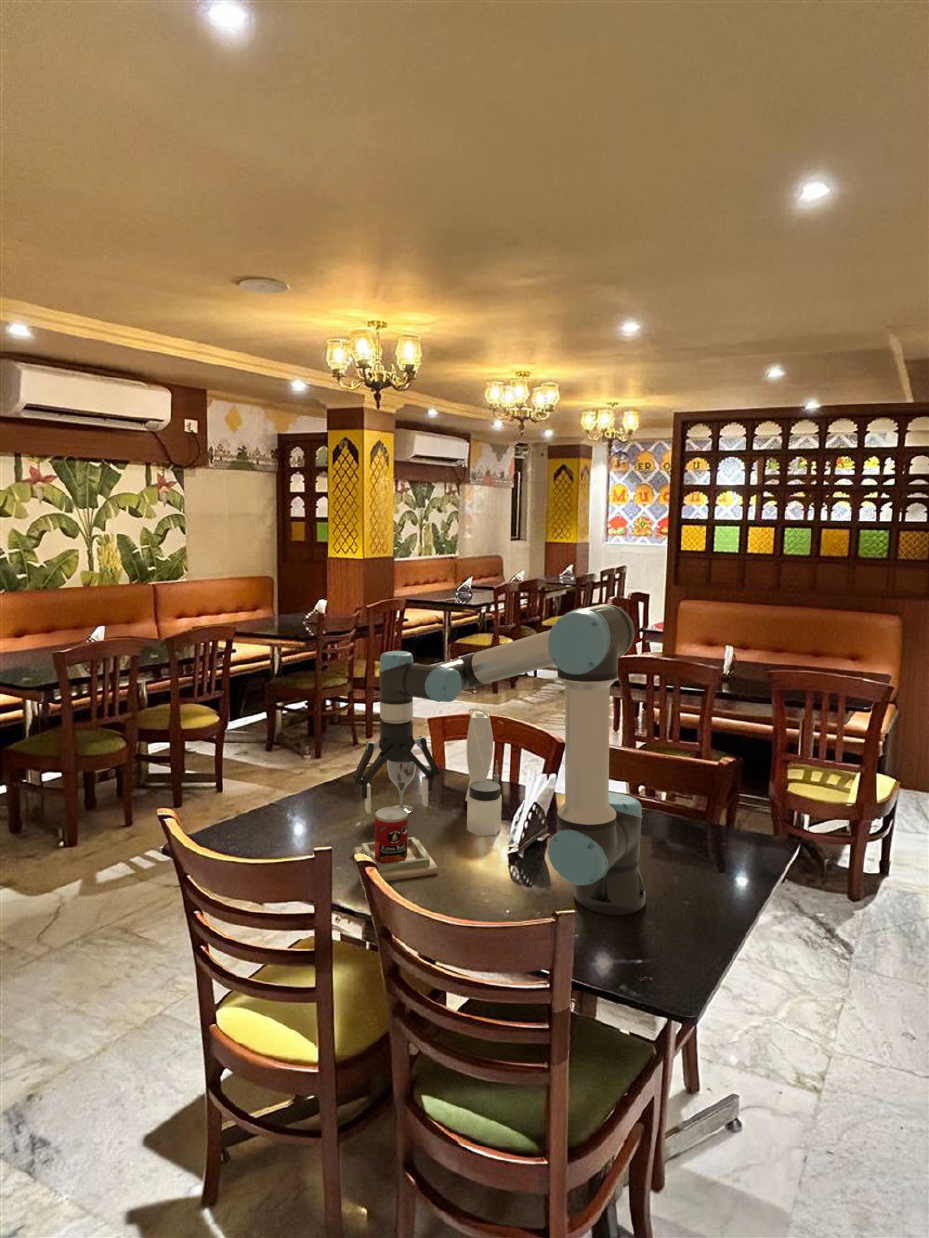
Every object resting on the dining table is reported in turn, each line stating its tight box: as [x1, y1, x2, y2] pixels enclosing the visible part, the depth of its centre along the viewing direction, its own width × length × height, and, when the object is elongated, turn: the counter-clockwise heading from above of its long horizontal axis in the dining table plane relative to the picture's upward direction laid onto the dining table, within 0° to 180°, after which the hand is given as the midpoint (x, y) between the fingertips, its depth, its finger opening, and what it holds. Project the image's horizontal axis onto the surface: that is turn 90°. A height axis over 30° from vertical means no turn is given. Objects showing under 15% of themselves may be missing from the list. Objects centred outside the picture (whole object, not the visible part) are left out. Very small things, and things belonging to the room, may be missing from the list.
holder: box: [353, 836, 439, 882], centre depth 189 cm, size 16×16×3 cm
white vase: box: [465, 708, 500, 803], centre depth 227 cm, size 8×8×28 cm
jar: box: [466, 780, 503, 837], centre depth 209 cm, size 9×8×12 cm
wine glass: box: [386, 756, 417, 815], centre depth 220 cm, size 8×8×15 cm
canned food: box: [374, 806, 409, 864], centre depth 188 cm, size 8×8×11 cm
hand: (396, 808), depth 187 cm, fingers open, 13 cm apart
